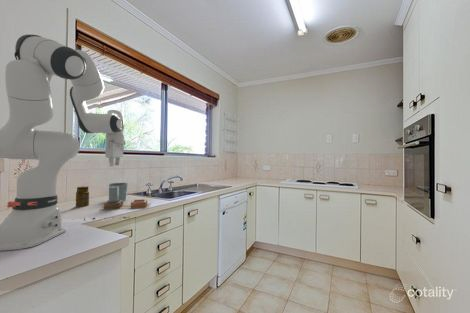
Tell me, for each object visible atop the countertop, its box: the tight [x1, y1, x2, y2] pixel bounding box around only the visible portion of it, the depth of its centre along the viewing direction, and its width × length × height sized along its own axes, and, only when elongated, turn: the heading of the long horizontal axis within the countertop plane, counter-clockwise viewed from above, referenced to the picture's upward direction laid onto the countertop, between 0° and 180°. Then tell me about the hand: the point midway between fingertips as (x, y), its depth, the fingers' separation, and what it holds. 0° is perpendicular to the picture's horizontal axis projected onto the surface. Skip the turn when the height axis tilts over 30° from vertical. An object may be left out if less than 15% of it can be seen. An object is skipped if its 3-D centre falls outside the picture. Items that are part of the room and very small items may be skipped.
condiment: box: [75, 185, 90, 208], centre depth 121 cm, size 7×8×12 cm
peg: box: [108, 186, 119, 203], centre depth 120 cm, size 4×4×11 cm
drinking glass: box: [108, 182, 128, 202], centre depth 137 cm, size 10×10×12 cm
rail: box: [99, 198, 151, 211], centre depth 121 cm, size 12×24×4 cm, turn 104°
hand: (114, 165), depth 120 cm, fingers open, 8 cm apart
